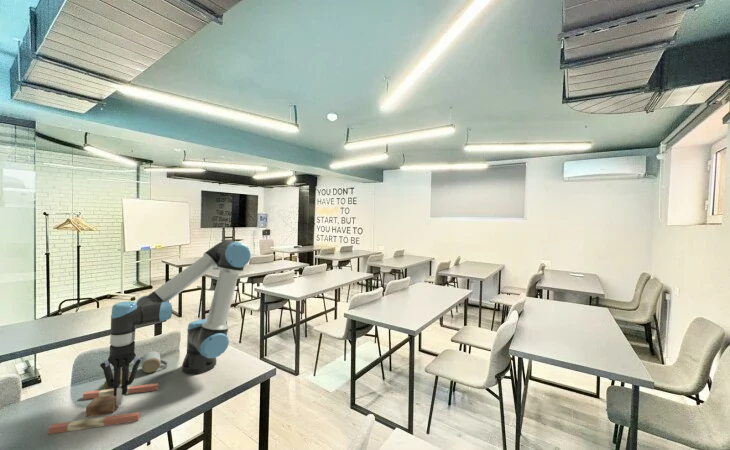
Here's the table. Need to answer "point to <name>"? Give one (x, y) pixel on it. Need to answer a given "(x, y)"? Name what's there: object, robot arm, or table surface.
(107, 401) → the walnut block
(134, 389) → the rails
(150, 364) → the ceramic mug
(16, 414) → the table surface
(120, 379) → the stone block
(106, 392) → the rails
